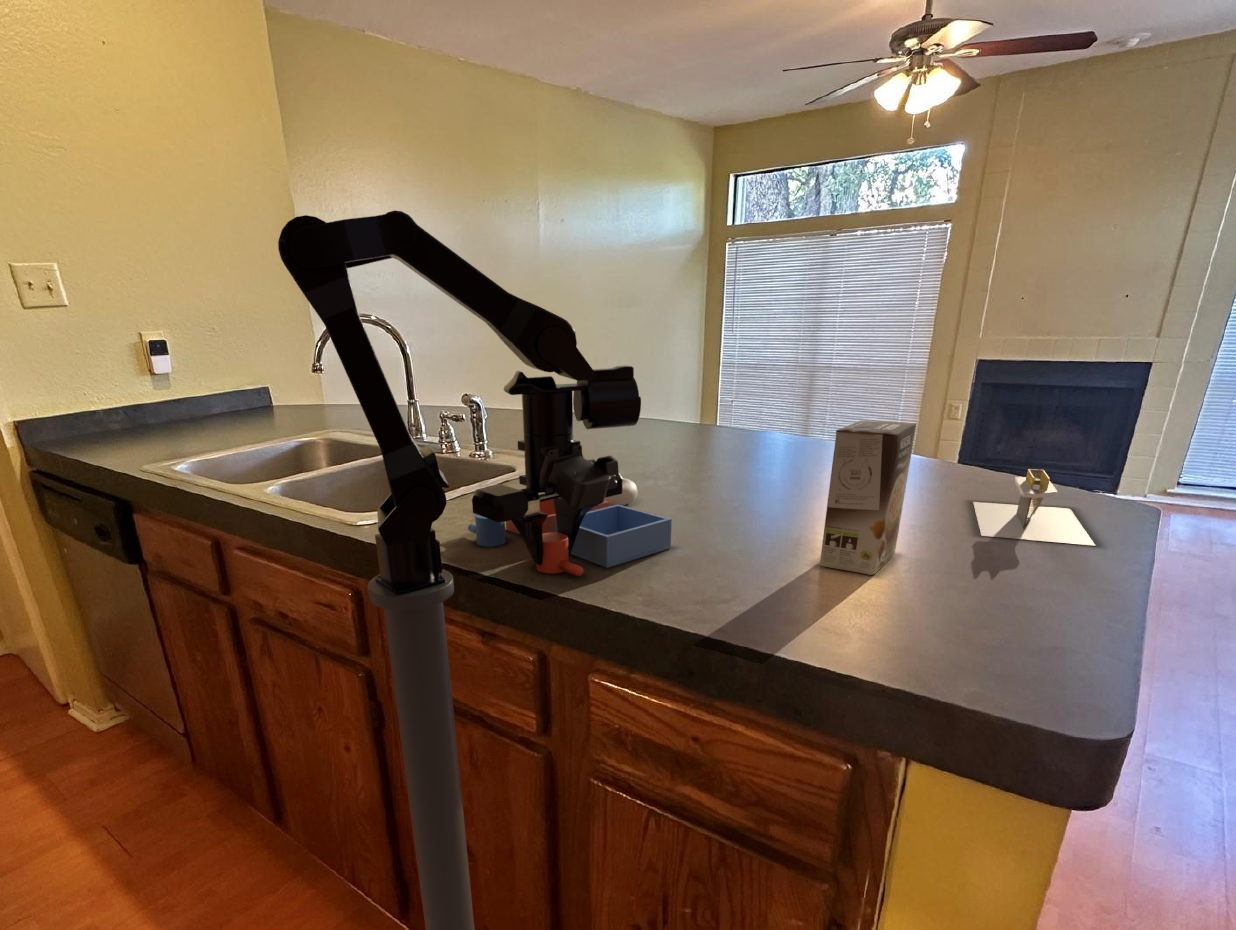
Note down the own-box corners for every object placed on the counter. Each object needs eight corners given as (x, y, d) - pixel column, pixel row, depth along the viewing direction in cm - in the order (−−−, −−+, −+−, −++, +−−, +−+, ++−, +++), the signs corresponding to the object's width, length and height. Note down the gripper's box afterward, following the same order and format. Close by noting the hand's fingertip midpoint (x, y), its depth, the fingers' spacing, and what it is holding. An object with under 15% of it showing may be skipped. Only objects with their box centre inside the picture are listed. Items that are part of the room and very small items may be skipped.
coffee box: (875, 576, 78) (897, 434, 72) (818, 566, 82) (834, 430, 76) (896, 554, 85) (917, 421, 79) (842, 545, 89) (858, 418, 83)
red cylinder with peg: (530, 567, 86) (528, 536, 85) (555, 560, 88) (554, 530, 87) (568, 584, 80) (567, 551, 79) (594, 576, 82) (594, 544, 81)
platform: (1069, 508, 100) (1081, 463, 97) (1095, 545, 85) (1110, 493, 82) (972, 501, 105) (981, 458, 102) (981, 535, 90) (991, 486, 88)
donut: (646, 498, 115) (592, 491, 120) (647, 477, 114) (593, 472, 119) (622, 513, 108) (565, 505, 112) (622, 491, 106) (565, 484, 111)
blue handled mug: (511, 542, 96) (509, 514, 94) (487, 548, 94) (485, 520, 92) (482, 530, 101) (480, 504, 100) (458, 536, 99) (456, 509, 98)
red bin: (547, 545, 94) (547, 517, 92) (506, 529, 102) (504, 503, 100) (609, 528, 100) (609, 501, 98) (565, 514, 108) (564, 489, 106)
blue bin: (607, 568, 85) (607, 537, 83) (556, 548, 92) (555, 519, 91) (670, 548, 91) (671, 518, 89) (617, 531, 98) (618, 504, 97)
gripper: (522, 453, 68) (529, 598, 74) (656, 429, 78) (653, 559, 84) (464, 440, 77) (474, 571, 83) (592, 420, 87) (593, 538, 92)
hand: (552, 560), depth 85 cm, fingers closed on red cylinder with peg, 4 cm apart
